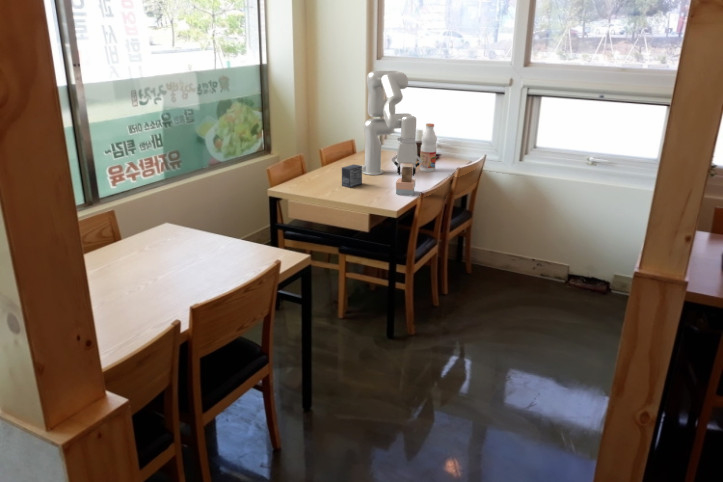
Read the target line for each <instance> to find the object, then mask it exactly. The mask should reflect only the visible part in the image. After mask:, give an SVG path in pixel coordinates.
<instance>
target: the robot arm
mask: <svg viewBox="0 0 723 482" xmlns="http://www.w3.org/2000/svg"><path fill="white" fill-rule="evenodd" d="M366 86H367V92H368V94H367V95H368V97H367V98H368V99H367V114H368V116H369V117H371V118H370V119H367V120H365V121H364V123H363V132H364V164H362V165H360V164H359V165H360V166H362V175H369V176H381V175H382V174H383V173H384V170H382V169H381V165H382V161H381V160H382V141H381V140H380V138H379V137H378V136H388V135H391V134H393V132H394V130H395V129H400V137H398V138H397V141H398V146H397V154H396V155H395V156H394V157H392V158H391V161H392V163H393V164H394V165H395V166H396V169H397V171H396V173H397V174H398V176H400V175H401V164H412V165H413V166H412V177H413V176H415V175H416V169H417V168H418V167H420V164H421V163H422V159H421V158H420V155H418V145H417V143H416V135H417V117H416V116H414V115H412V114H411V113H408V112H407V113H396V105H398V104H399V103H401V102H402V100H403V98H404V97H403V92H402V90H405V89H407V87H408V86H409V79H408V77H407V74H405V73H404V72H401V71H398V70H372V71H369V73H367V75H366ZM384 95H385V99H384ZM373 117H374V118H373ZM380 117H381V118H380ZM417 161H418V162H417Z"/></svg>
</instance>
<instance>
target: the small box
mask: <svg viewBox="0 0 723 482" xmlns="http://www.w3.org/2000/svg"><path fill="white" fill-rule="evenodd" d="M362 170H363V169H362V166H360V164H350V165H347V166H343V167H341V187H345V188H349V189H351V188H354V187H357V186H358V187H359V186H362V185H363V173H362Z"/></svg>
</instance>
